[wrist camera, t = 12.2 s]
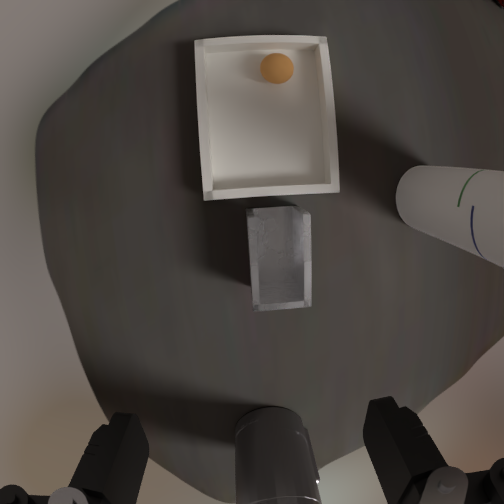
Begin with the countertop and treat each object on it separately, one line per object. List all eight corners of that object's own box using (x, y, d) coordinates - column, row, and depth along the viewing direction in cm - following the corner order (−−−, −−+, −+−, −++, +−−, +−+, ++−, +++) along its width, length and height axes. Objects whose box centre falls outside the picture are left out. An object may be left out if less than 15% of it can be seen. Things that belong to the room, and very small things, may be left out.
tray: (330, 190, 30) (339, 192, 27) (207, 197, 30) (204, 200, 27) (318, 47, 26) (326, 36, 23) (198, 51, 26) (194, 40, 23)
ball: (303, 67, 23) (296, 76, 26) (281, 42, 22) (276, 53, 25) (276, 85, 24) (272, 92, 27) (254, 60, 23) (252, 69, 26)
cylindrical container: (395, 231, 31) (590, 338, 7) (394, 164, 30) (617, 190, 5) (445, 228, 32) (624, 309, 7) (446, 166, 30) (641, 197, 6)
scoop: (298, 282, 33) (311, 306, 27) (250, 286, 32) (253, 311, 27) (296, 205, 30) (310, 214, 25) (245, 208, 30) (247, 217, 25)
